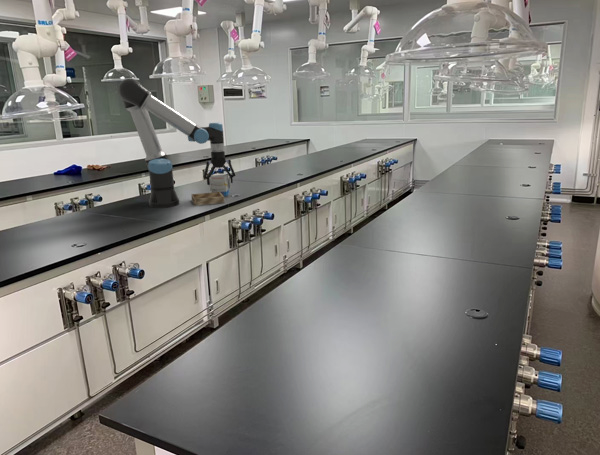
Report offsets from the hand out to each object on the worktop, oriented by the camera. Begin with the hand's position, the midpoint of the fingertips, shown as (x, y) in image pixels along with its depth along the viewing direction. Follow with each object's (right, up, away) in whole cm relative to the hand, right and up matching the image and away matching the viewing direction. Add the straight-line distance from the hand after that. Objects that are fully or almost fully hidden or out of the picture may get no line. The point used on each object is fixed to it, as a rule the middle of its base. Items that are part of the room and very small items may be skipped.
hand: (220, 189), depth 257 cm
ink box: (0, -3, +1) cm, 3 cm away
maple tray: (-4, -8, -16) cm, 18 cm away
